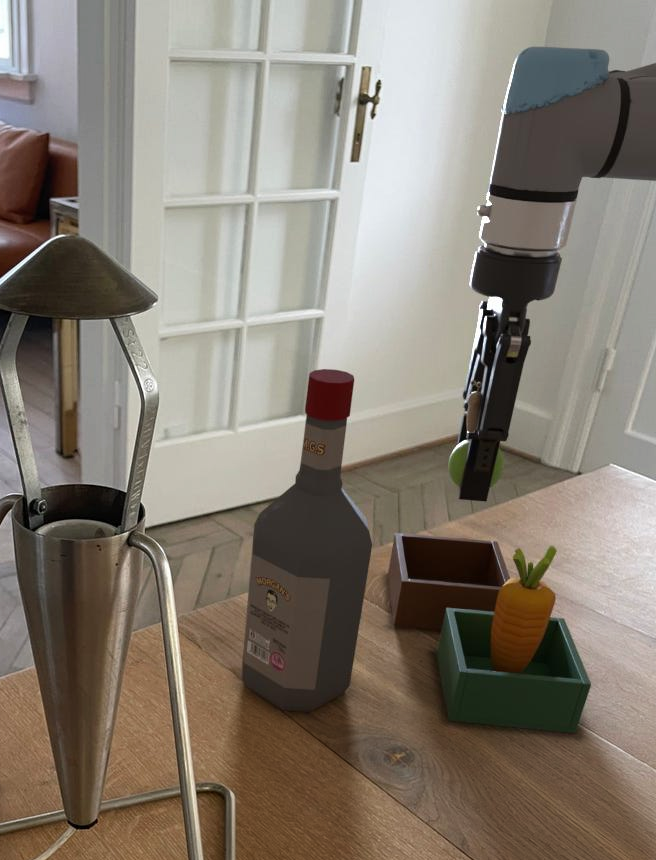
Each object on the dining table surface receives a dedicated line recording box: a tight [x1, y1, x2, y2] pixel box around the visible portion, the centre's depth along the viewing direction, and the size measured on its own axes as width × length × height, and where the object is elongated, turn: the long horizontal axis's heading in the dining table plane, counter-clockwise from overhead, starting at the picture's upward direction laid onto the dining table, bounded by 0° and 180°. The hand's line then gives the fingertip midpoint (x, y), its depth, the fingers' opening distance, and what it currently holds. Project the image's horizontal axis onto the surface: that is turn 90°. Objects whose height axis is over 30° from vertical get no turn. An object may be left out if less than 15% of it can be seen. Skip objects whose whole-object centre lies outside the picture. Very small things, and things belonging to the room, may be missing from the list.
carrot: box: [491, 545, 558, 674], centre depth 89 cm, size 5×5×15 cm
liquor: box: [241, 368, 373, 713], centre depth 85 cm, size 9×9×30 cm
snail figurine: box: [447, 380, 505, 488], centre depth 96 cm, size 5×6×12 cm
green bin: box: [435, 608, 592, 734], centre depth 92 cm, size 11×11×6 cm
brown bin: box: [387, 532, 511, 631], centre depth 106 cm, size 11×11×6 cm
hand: (468, 486), depth 99 cm, fingers closed on snail figurine, 5 cm apart
